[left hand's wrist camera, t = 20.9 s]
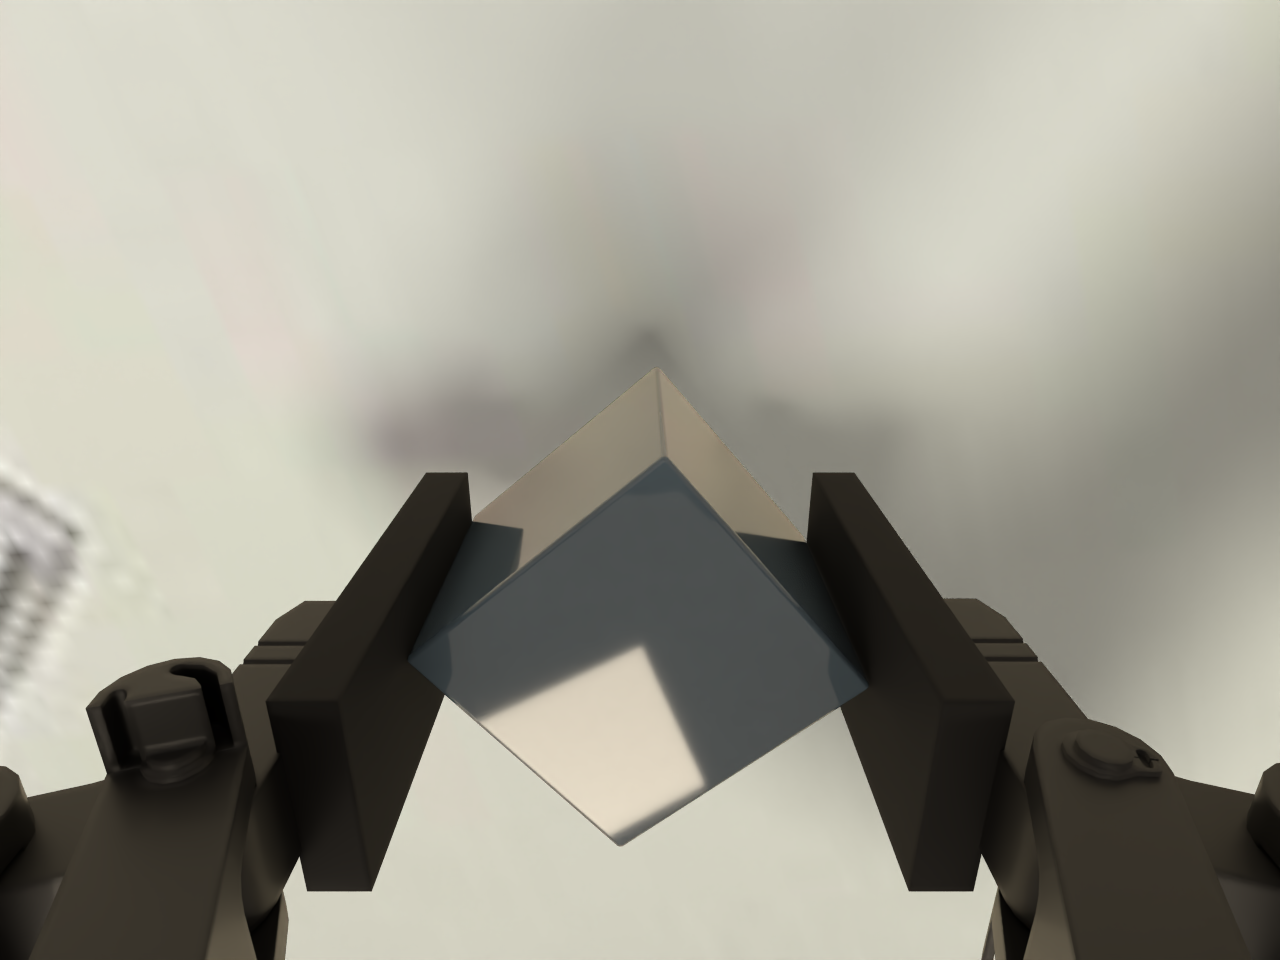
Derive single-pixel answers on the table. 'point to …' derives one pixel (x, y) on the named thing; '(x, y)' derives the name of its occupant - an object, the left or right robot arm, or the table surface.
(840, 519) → the left robot arm
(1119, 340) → the table surface
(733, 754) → the brick
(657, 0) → the table surface
